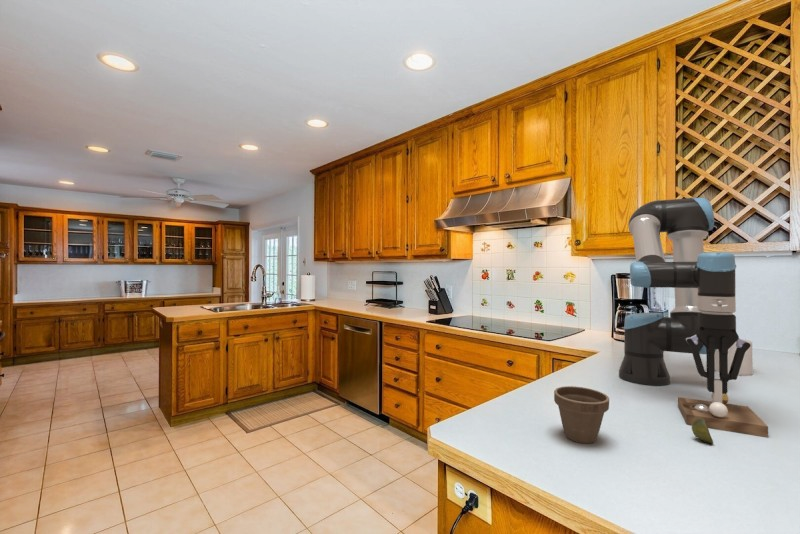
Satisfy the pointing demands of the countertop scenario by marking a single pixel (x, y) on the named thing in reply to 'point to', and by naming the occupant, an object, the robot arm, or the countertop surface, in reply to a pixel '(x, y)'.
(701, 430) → the lime
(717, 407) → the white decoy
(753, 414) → the board
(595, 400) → the flower pot
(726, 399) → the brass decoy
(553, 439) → the countertop surface
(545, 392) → the countertop surface
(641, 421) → the countertop surface
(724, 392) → the robot arm
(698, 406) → the steel ball
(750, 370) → the cup
